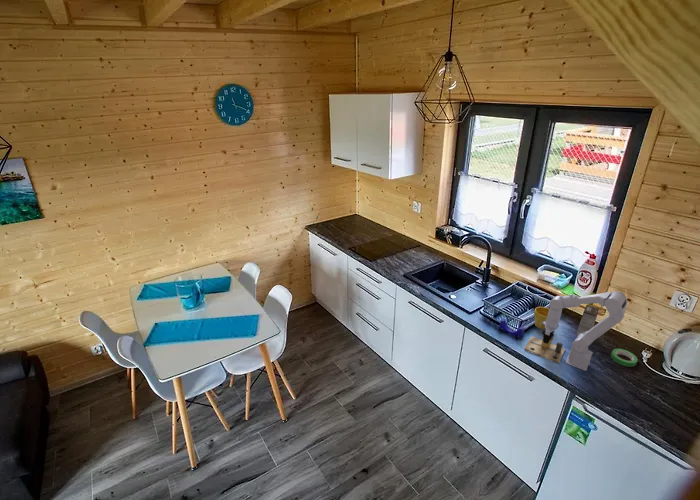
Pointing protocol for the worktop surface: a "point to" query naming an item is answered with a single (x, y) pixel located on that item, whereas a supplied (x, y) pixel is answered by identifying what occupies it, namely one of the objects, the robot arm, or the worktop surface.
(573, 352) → the robot arm
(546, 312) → the plant pot
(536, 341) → the tan base plate
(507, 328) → the cable clip
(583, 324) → the coffee box
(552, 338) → the block
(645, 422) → the worktop surface
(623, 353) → the tape roll
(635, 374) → the worktop surface
